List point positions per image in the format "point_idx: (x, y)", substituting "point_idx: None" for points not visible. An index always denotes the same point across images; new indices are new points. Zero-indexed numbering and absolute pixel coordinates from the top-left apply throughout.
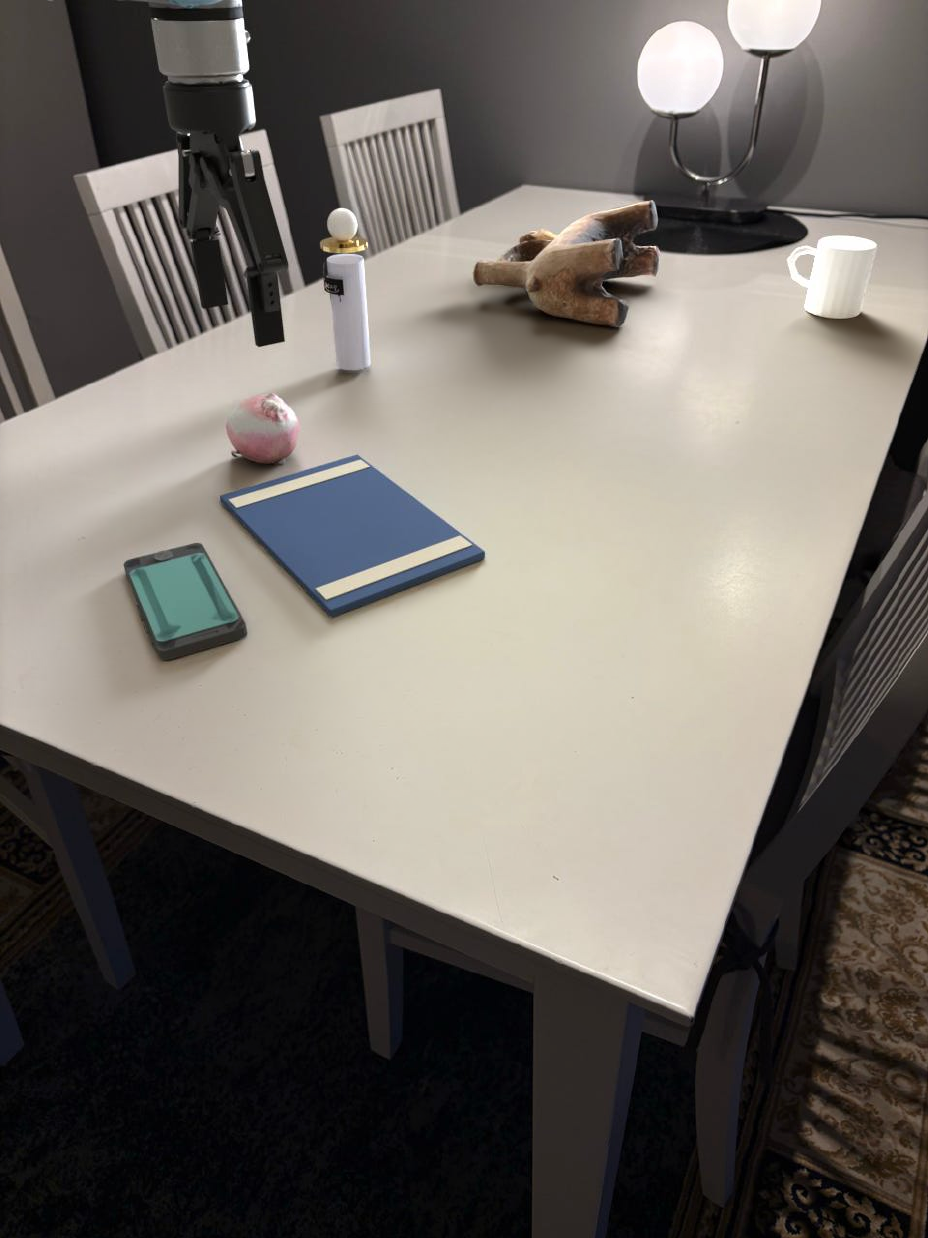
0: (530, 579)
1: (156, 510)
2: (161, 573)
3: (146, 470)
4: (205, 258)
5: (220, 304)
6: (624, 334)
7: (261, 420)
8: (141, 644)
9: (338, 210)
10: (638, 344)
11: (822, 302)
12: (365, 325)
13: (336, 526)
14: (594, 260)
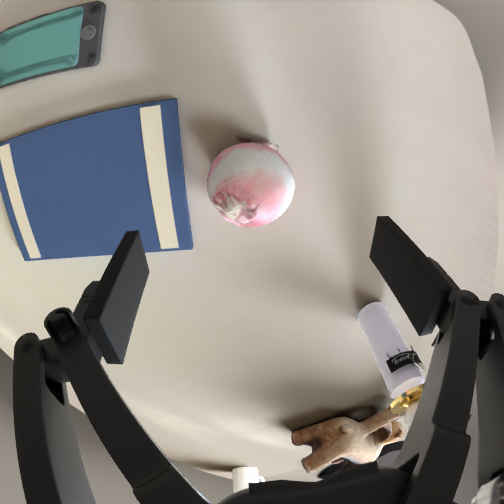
0: (8, 267)
1: (198, 38)
2: (65, 30)
3: (296, 55)
4: (415, 285)
5: (373, 245)
6: (283, 430)
7: (217, 183)
8: (19, 20)
9: None
10: (265, 430)
11: (242, 472)
12: (370, 348)
13: (73, 183)
14: (313, 459)
